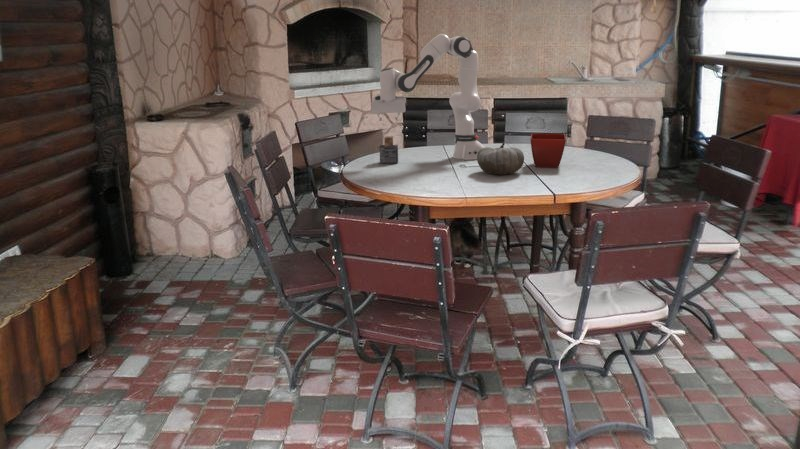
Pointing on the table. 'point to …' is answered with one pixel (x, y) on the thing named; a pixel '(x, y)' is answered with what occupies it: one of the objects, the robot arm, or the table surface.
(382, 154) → the small box
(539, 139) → the plant pot
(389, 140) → the walnut cube
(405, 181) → the table surface
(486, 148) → the gourd
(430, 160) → the table surface
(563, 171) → the table surface
